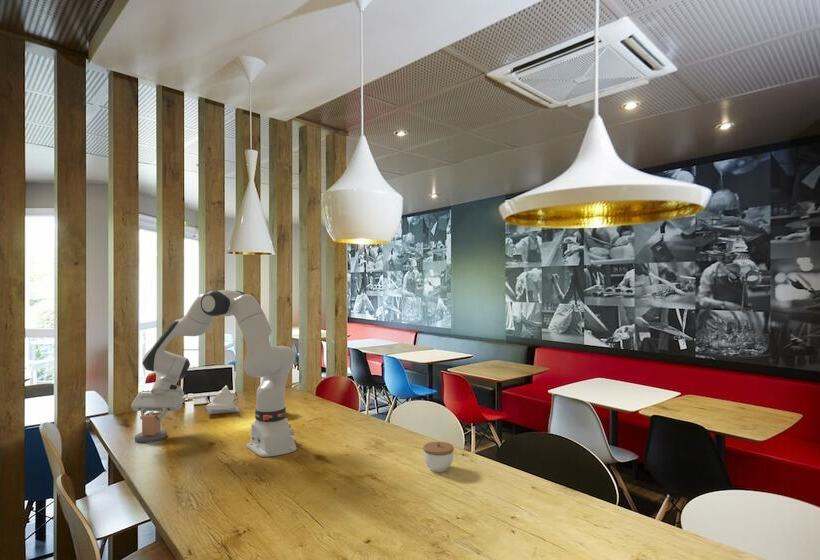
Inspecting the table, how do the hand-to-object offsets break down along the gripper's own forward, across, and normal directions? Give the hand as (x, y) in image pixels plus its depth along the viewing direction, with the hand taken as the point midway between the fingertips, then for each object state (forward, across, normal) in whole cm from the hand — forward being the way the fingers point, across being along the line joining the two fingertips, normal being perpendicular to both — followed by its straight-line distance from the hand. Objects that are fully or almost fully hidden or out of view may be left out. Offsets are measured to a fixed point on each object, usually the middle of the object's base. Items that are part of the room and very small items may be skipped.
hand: (150, 419), depth 191 cm
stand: (+5, 0, +6) cm, 8 cm away
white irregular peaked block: (-21, +15, +33) cm, 42 cm away
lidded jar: (+29, +119, -17) cm, 124 cm away
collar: (+4, 0, +5) cm, 6 cm away
